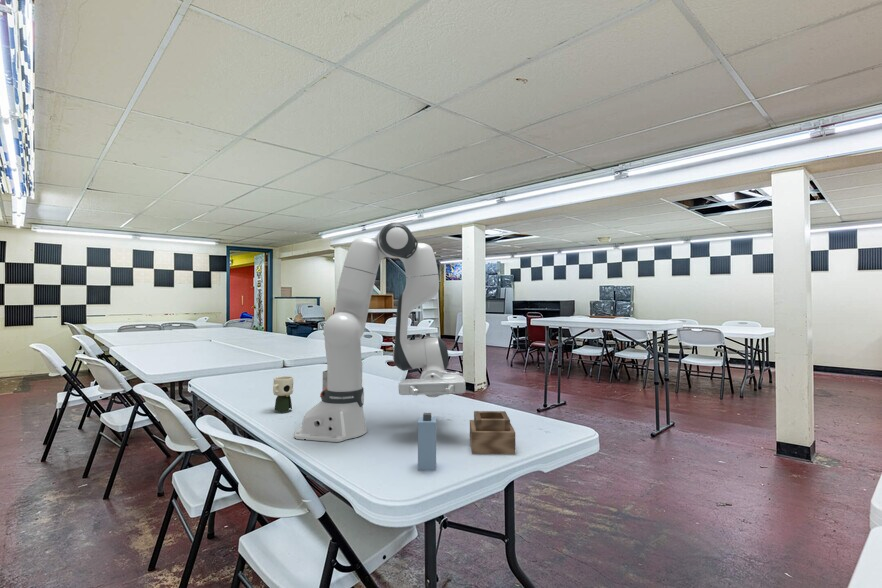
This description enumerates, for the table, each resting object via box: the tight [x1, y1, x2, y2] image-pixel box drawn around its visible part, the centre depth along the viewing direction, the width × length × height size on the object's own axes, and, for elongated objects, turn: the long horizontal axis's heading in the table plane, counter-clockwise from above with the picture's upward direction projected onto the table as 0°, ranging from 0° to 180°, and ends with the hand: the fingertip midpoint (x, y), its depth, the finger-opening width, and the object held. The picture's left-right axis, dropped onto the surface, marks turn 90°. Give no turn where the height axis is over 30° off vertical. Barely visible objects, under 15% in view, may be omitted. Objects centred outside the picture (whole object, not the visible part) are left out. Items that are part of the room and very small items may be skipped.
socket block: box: [469, 410, 516, 455], centre depth 120 cm, size 12×12×9 cm
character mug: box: [272, 375, 294, 413], centre depth 158 cm, size 11×7×13 cm, turn 162°
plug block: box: [417, 412, 437, 472], centre depth 105 cm, size 4×4×14 cm
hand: (431, 392), depth 118 cm, fingers open, 8 cm apart
